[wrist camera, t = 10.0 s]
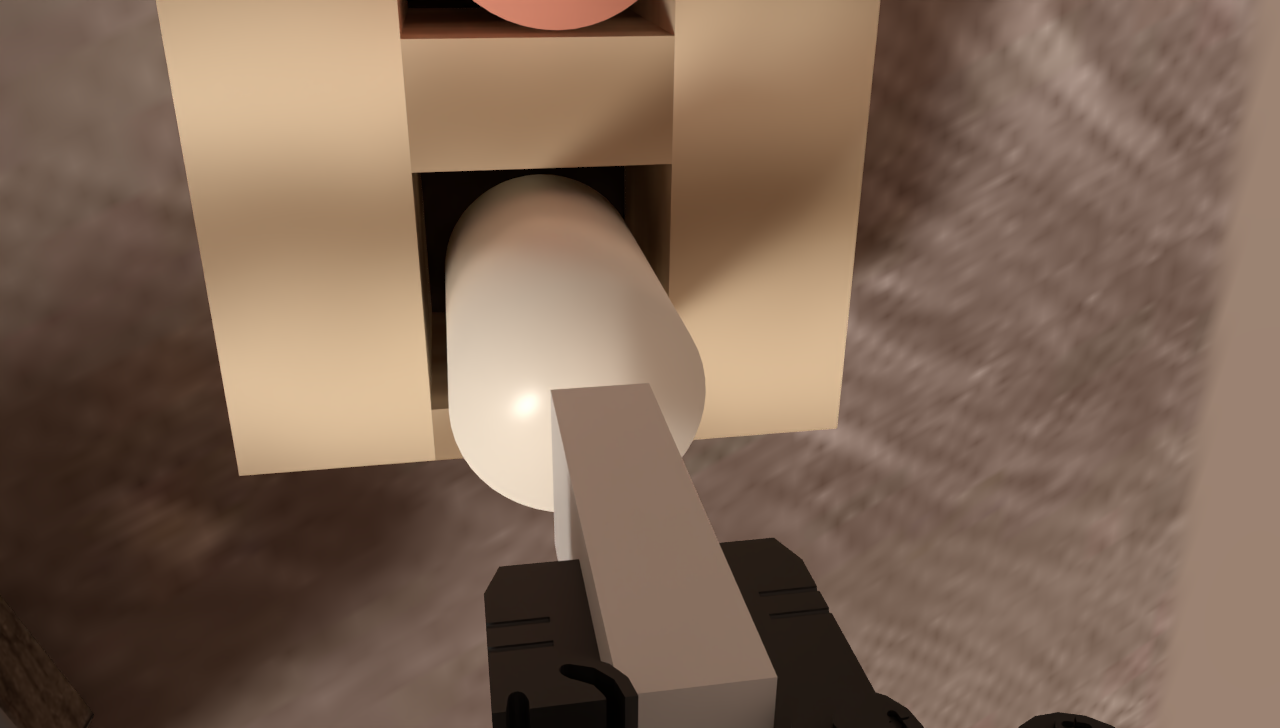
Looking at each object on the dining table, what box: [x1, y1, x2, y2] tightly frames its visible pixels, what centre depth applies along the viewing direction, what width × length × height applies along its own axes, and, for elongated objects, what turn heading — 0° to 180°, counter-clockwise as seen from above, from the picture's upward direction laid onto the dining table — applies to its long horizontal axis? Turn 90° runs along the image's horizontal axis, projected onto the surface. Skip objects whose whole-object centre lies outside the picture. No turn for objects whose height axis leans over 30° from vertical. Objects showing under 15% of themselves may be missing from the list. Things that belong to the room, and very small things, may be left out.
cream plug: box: [445, 174, 706, 512], centre depth 21 cm, size 4×4×7 cm
